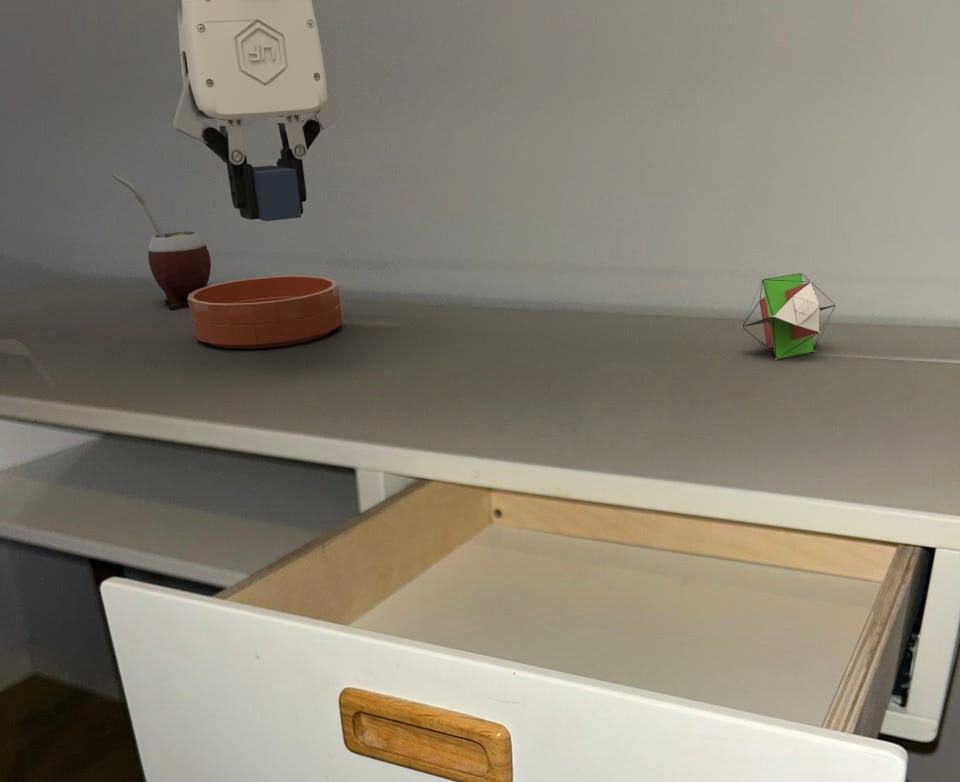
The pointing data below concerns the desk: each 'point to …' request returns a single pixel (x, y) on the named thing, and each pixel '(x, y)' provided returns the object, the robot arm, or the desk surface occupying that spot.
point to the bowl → (265, 311)
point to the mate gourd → (175, 259)
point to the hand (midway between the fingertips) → (271, 213)
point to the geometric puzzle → (789, 315)
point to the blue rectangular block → (276, 193)
